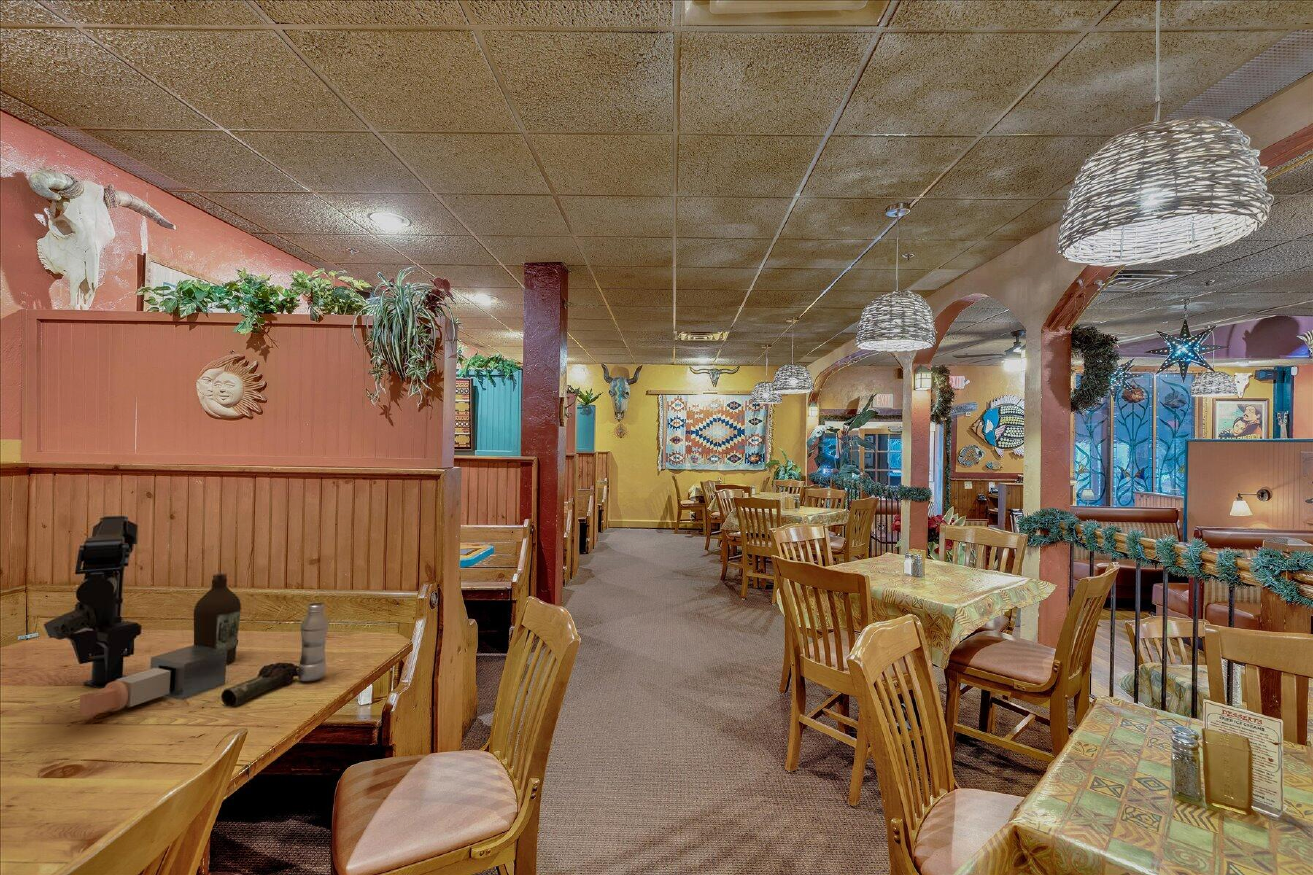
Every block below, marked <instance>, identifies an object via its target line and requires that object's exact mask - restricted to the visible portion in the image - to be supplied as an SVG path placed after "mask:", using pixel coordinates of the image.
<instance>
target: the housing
mask: <svg viewBox="0 0 1313 875" xmlns="http://www.w3.org/2000/svg"><path fill="white" fill-rule="evenodd" d="M226 661H227V651H225V650H220V649H214V648H209V647H203V646H198V645H194V644H192V645H190V646H186V647H182V648H179V649H176V650H171V651H168V652H165V653H161V654H158V655H154V656H151V657H150V668H149V669H153V668H159V669H164V670H169V671H171V673H170V689H169V694H166V695H164V696H165V697H170V698H173V699H180V700H186V699H188V698H191V697H193V696H197V695H199V694H202V693H204V692H207V691H210V690H212V689H215V688H218V687H221V686H223V685H226V674H227V673H226V672H227V665H226Z"/></svg>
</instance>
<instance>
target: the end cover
mask: <svg viewBox="0 0 1313 875" xmlns="http://www.w3.org/2000/svg"><path fill="white" fill-rule="evenodd" d="M170 673H171V671H169V670H164V669H159V668H153V669H150V668H149V669H146V670H144V671H143V670H142V671H140V672H136V673H133V674H130V675H125V676H126V677H123V678H120V679H116V681H113V682H110V683H108V684H107V685H106V686H104V688H101V689H100V688H99V689H98V690H94V691H91V692H88V693H85V694H82V695H80V696H79V706H78V707H79V708H78V709H79V710H78V713H79V714H80V715H84V716H88V717H89V716H92V715H95V714H97V713H98V714H99V713H101V712H104V711H106V710H109V711H111V712H114V711H118V710H121V709H124V707H128V708H131V707H134V706H136V705H139V704H140V705H141V704H142V703H146V702H148V701H152V700H155V699H157V698H160V697H162V696H165V695H166V694H169V689H170Z"/></svg>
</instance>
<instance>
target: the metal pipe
mask: <svg viewBox="0 0 1313 875" xmlns="http://www.w3.org/2000/svg"><path fill="white" fill-rule="evenodd" d="M298 666H299V665H295V664H294V663H293V662H277V663H271V664H268V665H264V666H262V667H261V668H260V670H259V671H258V674H257V676H255V677H254V678H251V679H249V680H246V681H244V682H240V683H239V684H236V685H233V686H231V687H228V688H225V689H224V690H223V691H222V693H221V696H220V699H221V701H222V703H223V705H224V706H226V707H230V708H235V707H236V706H238V705H240V704H242V703H244V702H246V701H248V700H250V699H252V698H254V697H256V696H258V695H260V694H262V693H264V692H266V691H268V690H272V689H274V688H278V687H281V686H287V685H290V684H291V681H293V680H294V678H295V677H298V673H297V671H298Z"/></svg>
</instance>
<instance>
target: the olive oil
mask: <svg viewBox="0 0 1313 875" xmlns="http://www.w3.org/2000/svg"><path fill="white" fill-rule="evenodd" d="M227 577H228V576H227V573H225V572H224V573H215V574H213V575H212V579H211V588H210V589H209V590H208V591H207V592H206V593H205V594H204V595H203V596H202V597H201V598H200V599H199V600H197V602H196V604H195V606H194V609H193V645H198V646H203V647H209V648H214V649H220V650H225V651H227V661H226V666H227V665H230V664H232V663H234V662H235V661H236V654H237V647H238V644H239V639H238V635H239V626H240V620H241V619H240V617H241V610H242V604H241V600H240V597H238V595H237V594H235V593H234V592H233V591H232V590H230V589H229V587H228V586H227V584H228V583H227V582H228V578H227Z"/></svg>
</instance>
